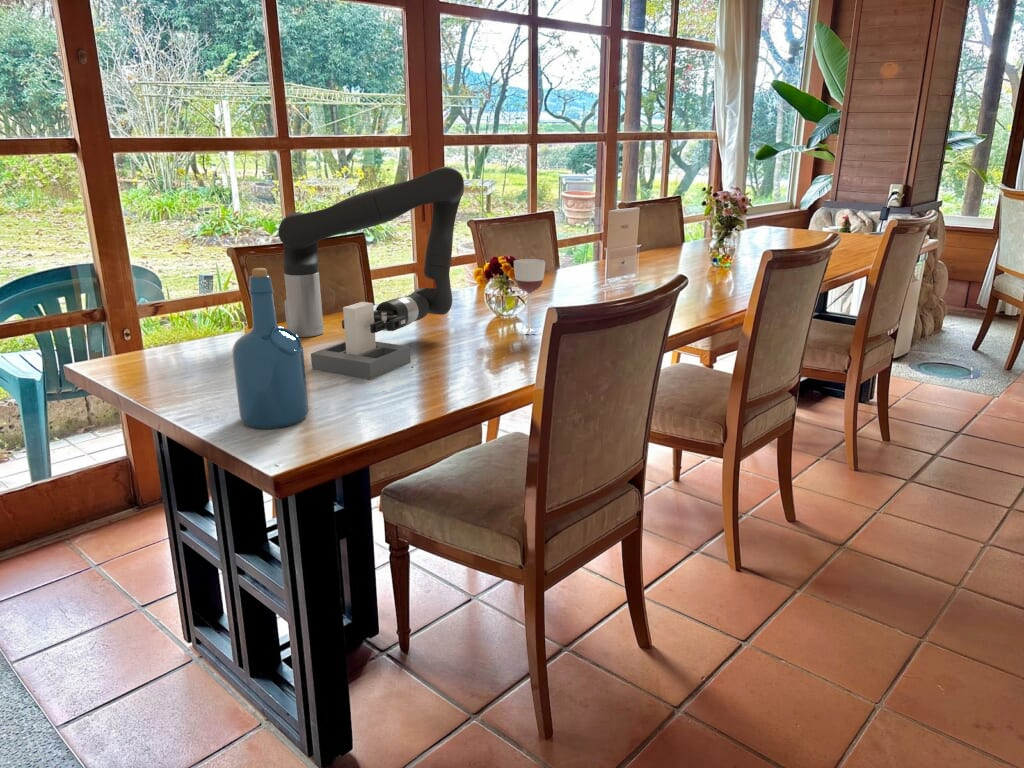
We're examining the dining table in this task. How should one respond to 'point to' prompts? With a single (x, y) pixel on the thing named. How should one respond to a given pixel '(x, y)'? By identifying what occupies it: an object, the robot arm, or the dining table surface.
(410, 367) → the dining table surface
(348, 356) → the rack
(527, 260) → the wineglass
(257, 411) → the wine bottle
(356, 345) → the white box
